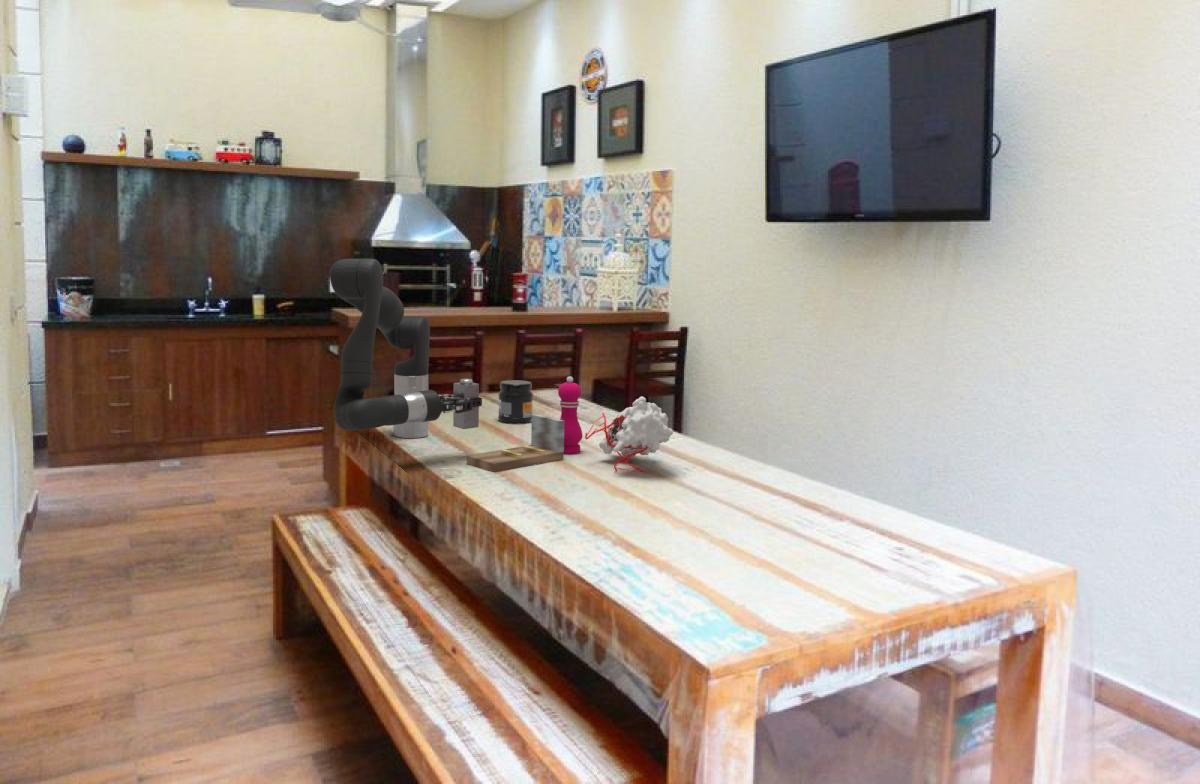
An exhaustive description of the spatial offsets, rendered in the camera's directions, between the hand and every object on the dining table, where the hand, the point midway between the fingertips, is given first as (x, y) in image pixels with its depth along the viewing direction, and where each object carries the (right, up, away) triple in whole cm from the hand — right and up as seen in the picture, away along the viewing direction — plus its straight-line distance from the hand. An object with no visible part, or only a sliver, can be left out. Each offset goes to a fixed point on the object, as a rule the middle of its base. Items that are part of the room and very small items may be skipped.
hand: (474, 400), depth 236 cm
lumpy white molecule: (+39, -17, -5) cm, 43 cm away
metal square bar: (-2, -7, -1) cm, 7 cm away
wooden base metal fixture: (+11, -15, -3) cm, 19 cm away
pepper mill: (+23, -14, +9) cm, 29 cm away
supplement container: (+6, -7, +50) cm, 51 cm away
